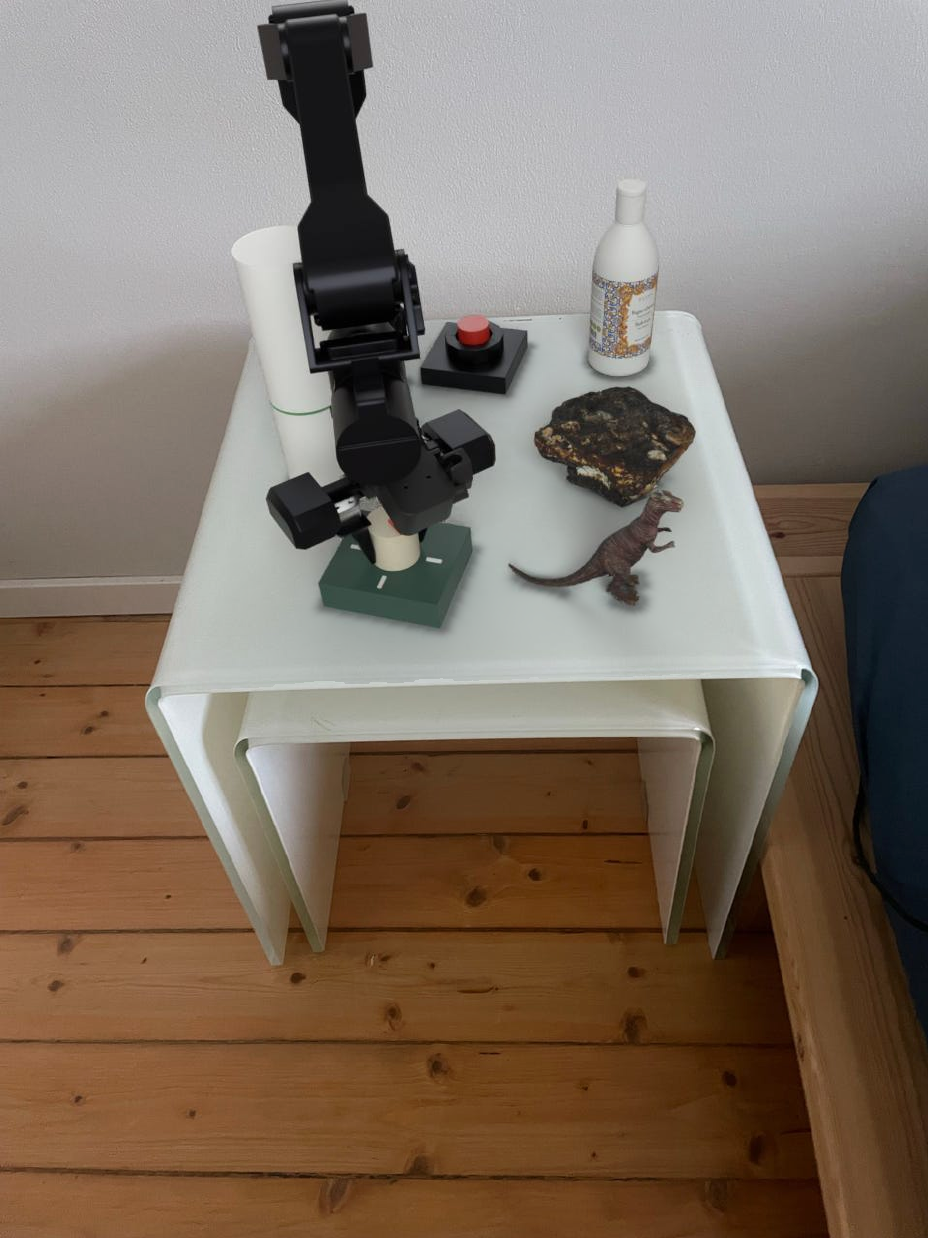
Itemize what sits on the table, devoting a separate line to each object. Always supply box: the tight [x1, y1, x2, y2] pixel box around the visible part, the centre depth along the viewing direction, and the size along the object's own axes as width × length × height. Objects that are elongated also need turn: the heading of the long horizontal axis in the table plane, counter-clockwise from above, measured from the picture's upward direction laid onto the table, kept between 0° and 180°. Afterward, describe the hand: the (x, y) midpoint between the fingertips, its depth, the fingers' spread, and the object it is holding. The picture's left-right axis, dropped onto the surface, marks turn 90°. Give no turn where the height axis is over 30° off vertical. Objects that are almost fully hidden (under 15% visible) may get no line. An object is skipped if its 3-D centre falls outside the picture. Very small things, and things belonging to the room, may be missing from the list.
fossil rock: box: [533, 386, 697, 509], centre depth 90 cm, size 14×14×6 cm
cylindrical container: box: [230, 225, 344, 487], centre depth 84 cm, size 7×7×25 cm
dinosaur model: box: [507, 489, 685, 606], centre depth 77 cm, size 4×12×15 cm
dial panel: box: [317, 509, 473, 629], centre depth 82 cm, size 11×10×3 cm
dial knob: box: [367, 505, 420, 571], centre depth 80 cm, size 4×4×4 cm
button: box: [456, 314, 490, 345], centre depth 103 cm, size 4×4×2 cm
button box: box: [419, 320, 529, 395], centre depth 105 cm, size 10×10×4 cm
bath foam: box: [588, 178, 660, 377], centre depth 98 cm, size 7×7×20 cm
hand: (395, 550), depth 81 cm, fingers closed on dial knob, 4 cm apart
